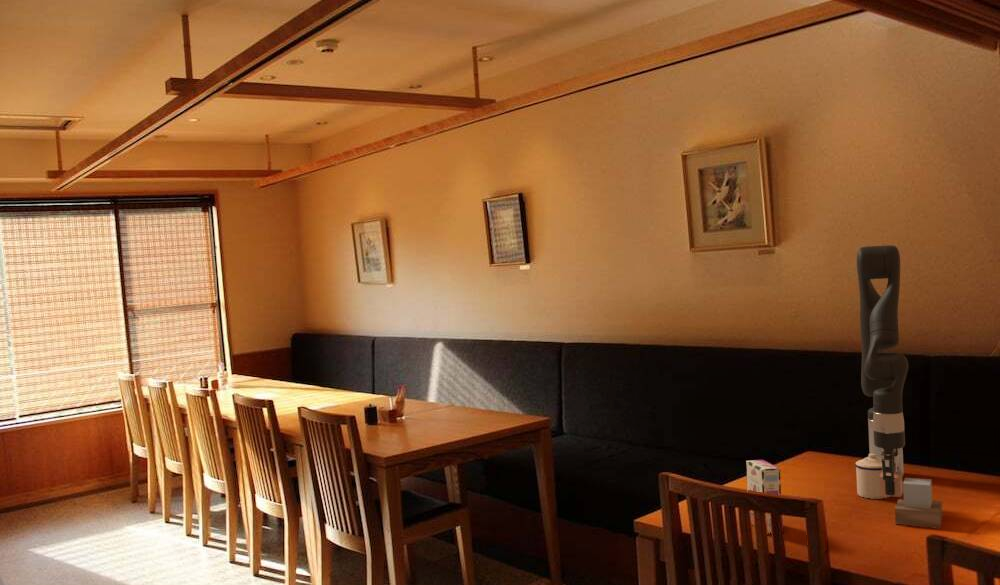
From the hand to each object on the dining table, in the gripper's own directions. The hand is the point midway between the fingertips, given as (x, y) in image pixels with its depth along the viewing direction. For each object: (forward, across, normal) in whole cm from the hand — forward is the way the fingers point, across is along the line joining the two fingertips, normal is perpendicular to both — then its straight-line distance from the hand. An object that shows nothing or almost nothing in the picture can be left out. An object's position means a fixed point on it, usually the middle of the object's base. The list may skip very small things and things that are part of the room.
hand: (891, 491), depth 230 cm
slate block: (0, +8, +7) cm, 11 cm away
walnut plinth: (+4, +9, +7) cm, 12 cm away
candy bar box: (+4, +27, -27) cm, 38 cm away
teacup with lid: (+5, -13, -6) cm, 16 cm away
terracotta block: (+1, 0, 0) cm, 1 cm away
